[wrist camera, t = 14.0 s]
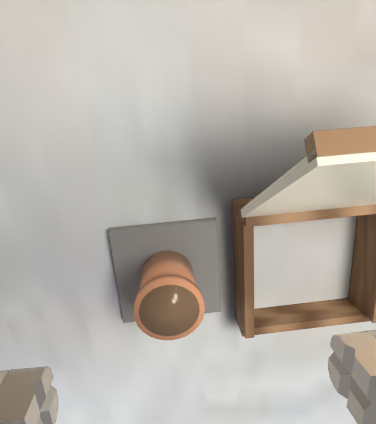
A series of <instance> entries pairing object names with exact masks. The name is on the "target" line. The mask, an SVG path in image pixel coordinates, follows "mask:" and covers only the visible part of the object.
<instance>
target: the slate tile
mask: <svg viewBox="0 0 376 424" xmlns="http://www.w3.org/2000/svg"><path fill="white" fill-rule="evenodd" d="M108 233H109V239H110V245H111V251H112V257H113V263H114V269H115V275H116V281H117V287H118V293H119V299H120V305H121V311H122V317H123V323H126V322H134V321H135V318H134V302H135V297H136V295H137V293H138V291H139V289H140V281H141V271H142V267H143V265H144V263H145V261H146V260H147V259H148V258H149V257H150V256H152V255H153V254H155V253H158V252H161V251H175V252H178V253H180V254H182V255H184V256H185V257H186V258H187V259H188V260H189V262H190V263H191V265H192V269H193V274H194V278H195V283H196V285H197V287H198V288H199V289H200V291H201V293H202V297H203V301H204V306H205V312H204V313H211V312H220V311H221V296H220V274H219V253H218V231H217V220H216V218H207V219H197V220H187V221H177V222H167V223H157V224H146V225H136V226H126V227H116V228H109V231H108Z"/></svg>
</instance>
